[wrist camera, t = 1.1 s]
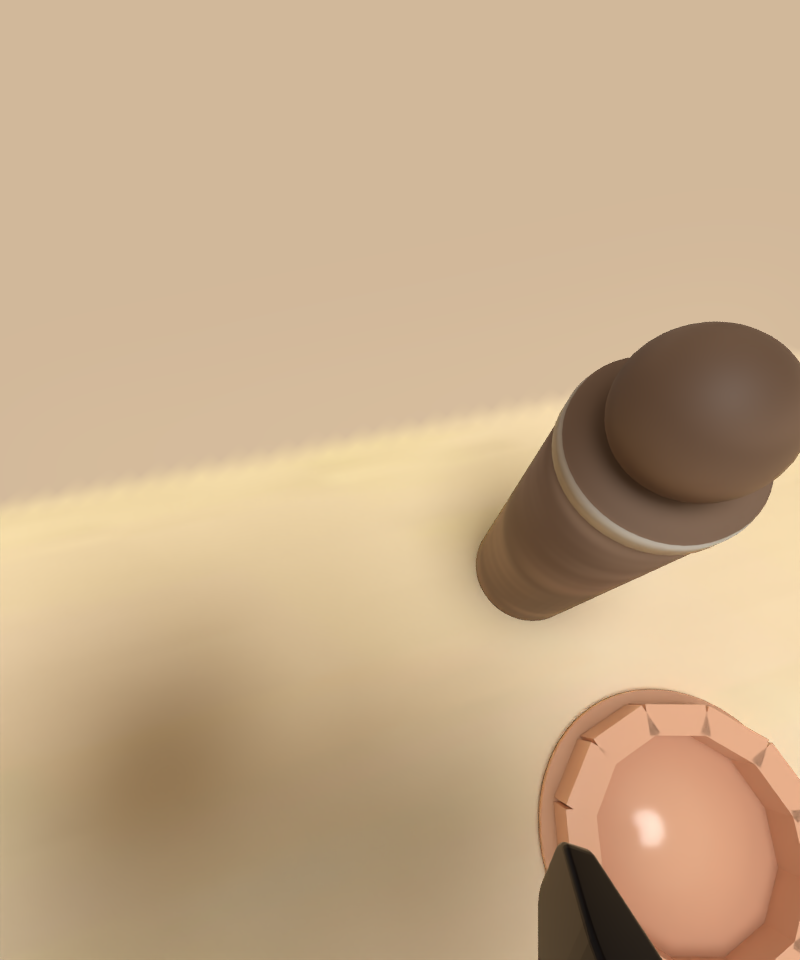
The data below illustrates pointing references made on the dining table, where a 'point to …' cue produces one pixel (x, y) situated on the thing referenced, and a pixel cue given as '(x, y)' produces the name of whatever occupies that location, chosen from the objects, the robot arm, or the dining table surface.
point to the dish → (682, 823)
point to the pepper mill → (646, 468)
